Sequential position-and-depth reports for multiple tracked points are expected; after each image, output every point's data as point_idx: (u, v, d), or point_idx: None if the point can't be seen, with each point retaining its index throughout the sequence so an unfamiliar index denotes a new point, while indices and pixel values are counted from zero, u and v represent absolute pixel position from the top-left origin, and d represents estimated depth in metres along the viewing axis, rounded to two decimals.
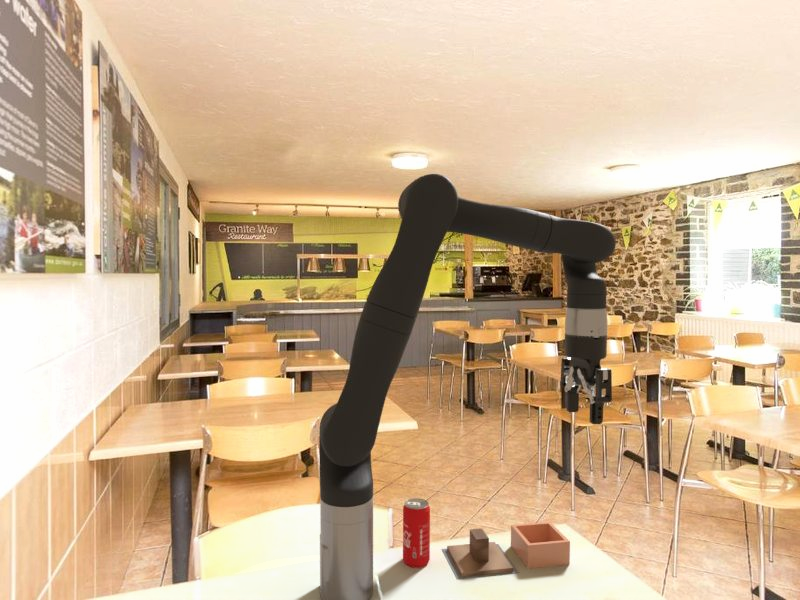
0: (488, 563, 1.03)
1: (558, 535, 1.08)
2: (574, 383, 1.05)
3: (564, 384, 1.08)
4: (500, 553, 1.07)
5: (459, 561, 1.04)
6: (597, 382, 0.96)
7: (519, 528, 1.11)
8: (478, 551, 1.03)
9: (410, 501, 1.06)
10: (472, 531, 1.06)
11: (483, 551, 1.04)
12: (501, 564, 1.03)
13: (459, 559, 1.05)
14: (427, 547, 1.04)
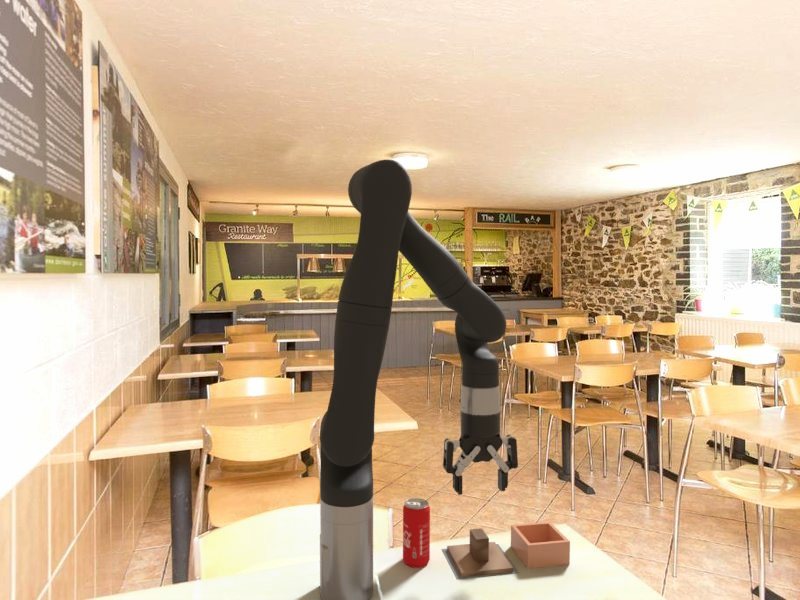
0: (488, 563, 1.03)
1: (558, 535, 1.08)
2: None
3: None
4: (500, 553, 1.07)
5: (459, 561, 1.04)
6: (515, 450, 1.05)
7: (519, 528, 1.11)
8: (478, 551, 1.03)
9: (410, 501, 1.06)
10: (472, 531, 1.06)
11: (483, 551, 1.04)
12: (501, 564, 1.03)
13: (459, 559, 1.05)
14: (427, 547, 1.04)
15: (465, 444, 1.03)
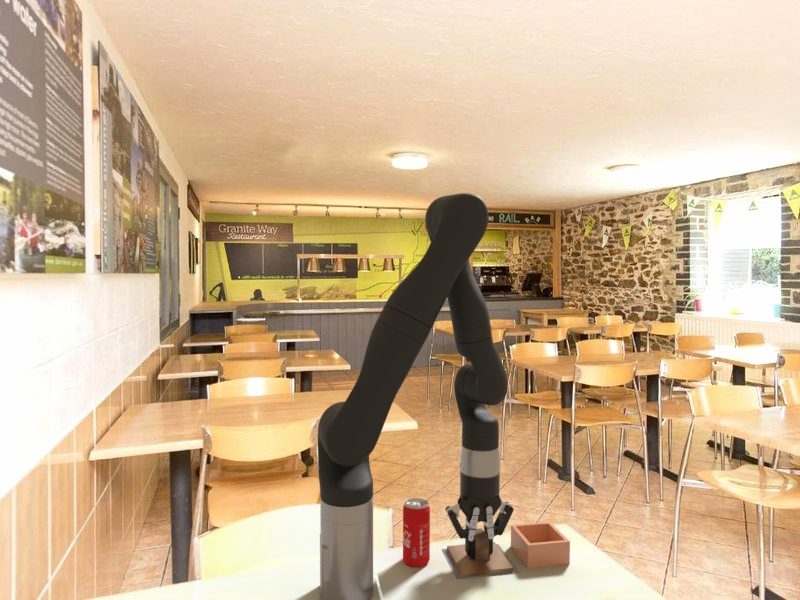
0: (488, 563, 1.03)
1: (558, 535, 1.08)
2: None
3: None
4: (500, 553, 1.07)
5: (459, 561, 1.04)
6: (507, 518, 1.05)
7: (519, 528, 1.11)
8: (478, 551, 1.03)
9: (410, 501, 1.06)
10: None
11: (483, 551, 1.04)
12: (501, 564, 1.03)
13: (459, 559, 1.05)
14: (427, 547, 1.04)
15: (464, 505, 1.03)
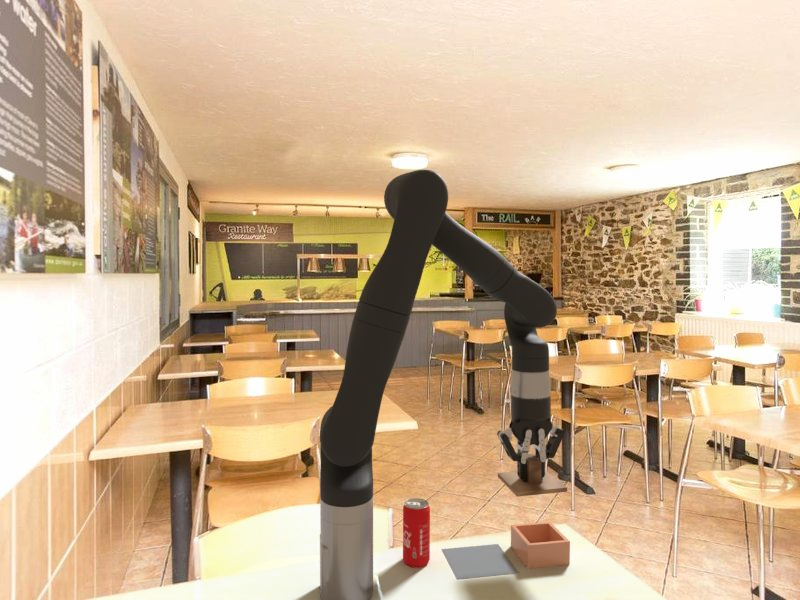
0: (541, 484, 1.04)
1: (558, 535, 1.08)
2: None
3: None
4: (551, 477, 1.08)
5: (512, 484, 1.05)
6: (559, 441, 1.06)
7: (519, 528, 1.11)
8: (531, 473, 1.05)
9: (410, 501, 1.06)
10: None
11: (536, 473, 1.05)
12: (554, 485, 1.04)
13: (512, 482, 1.06)
14: (427, 547, 1.04)
15: (516, 428, 1.05)
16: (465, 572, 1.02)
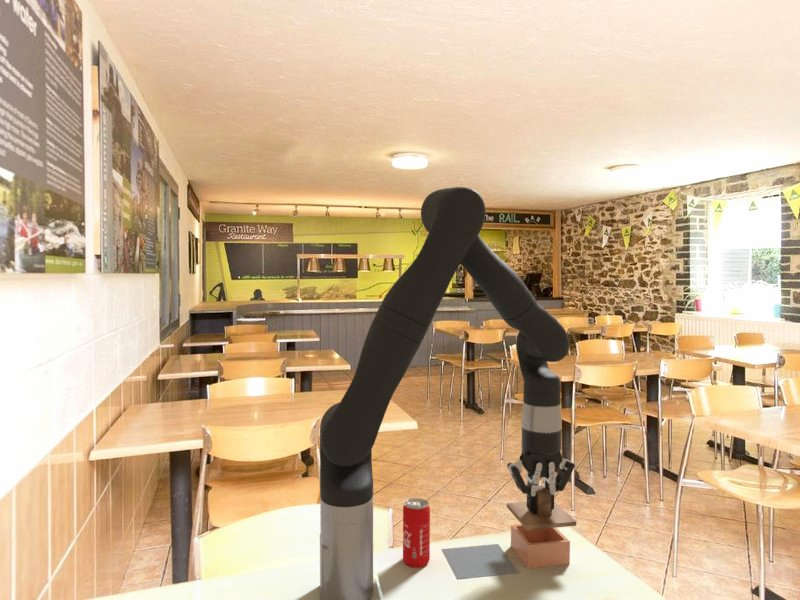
0: (551, 518, 1.05)
1: (558, 535, 1.08)
2: None
3: None
4: (560, 509, 1.09)
5: (522, 516, 1.06)
6: (568, 474, 1.07)
7: (519, 528, 1.11)
8: (541, 506, 1.05)
9: (410, 501, 1.06)
10: None
11: (545, 506, 1.05)
12: (564, 518, 1.05)
13: (521, 514, 1.06)
14: (427, 547, 1.04)
15: (527, 461, 1.05)
16: (465, 572, 1.02)
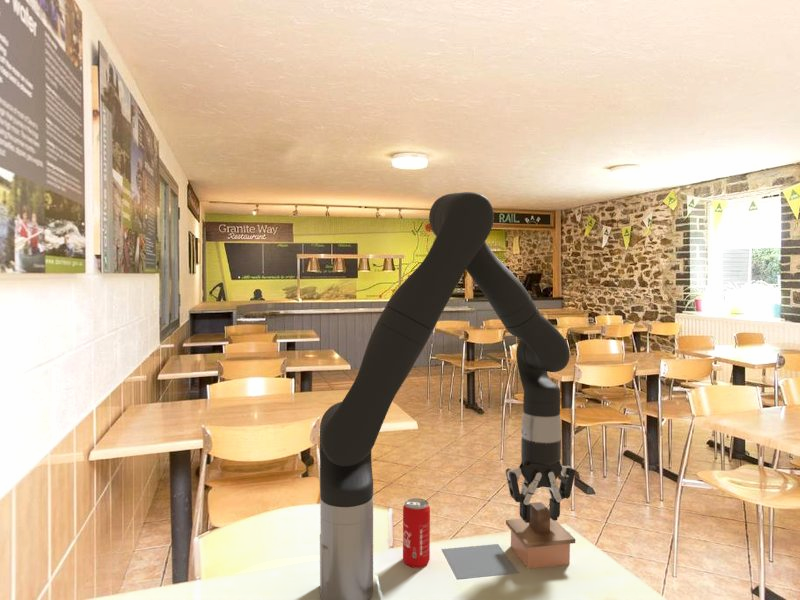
0: (550, 535, 1.05)
1: None
2: None
3: None
4: (559, 526, 1.09)
5: (521, 533, 1.06)
6: (571, 480, 1.07)
7: None
8: (540, 523, 1.05)
9: (410, 501, 1.06)
10: (532, 504, 1.08)
11: (544, 523, 1.06)
12: (563, 536, 1.05)
13: (520, 531, 1.07)
14: (427, 547, 1.04)
15: (526, 471, 1.05)
16: (465, 572, 1.02)
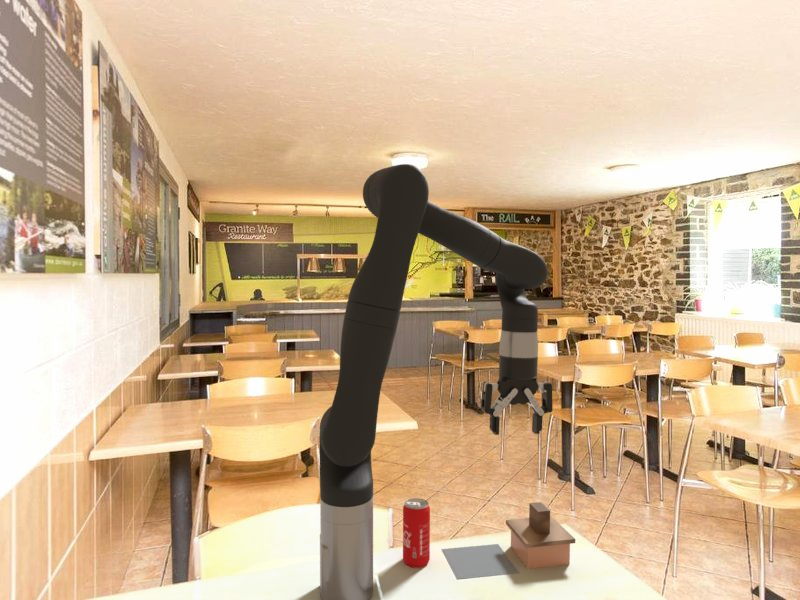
0: (550, 535, 1.05)
1: None
2: None
3: None
4: (559, 526, 1.09)
5: (521, 533, 1.06)
6: (550, 394, 1.09)
7: None
8: (540, 523, 1.05)
9: (410, 501, 1.06)
10: (532, 504, 1.08)
11: (544, 523, 1.06)
12: (563, 536, 1.05)
13: (520, 531, 1.07)
14: (427, 547, 1.04)
15: (503, 386, 1.08)
16: (465, 572, 1.02)
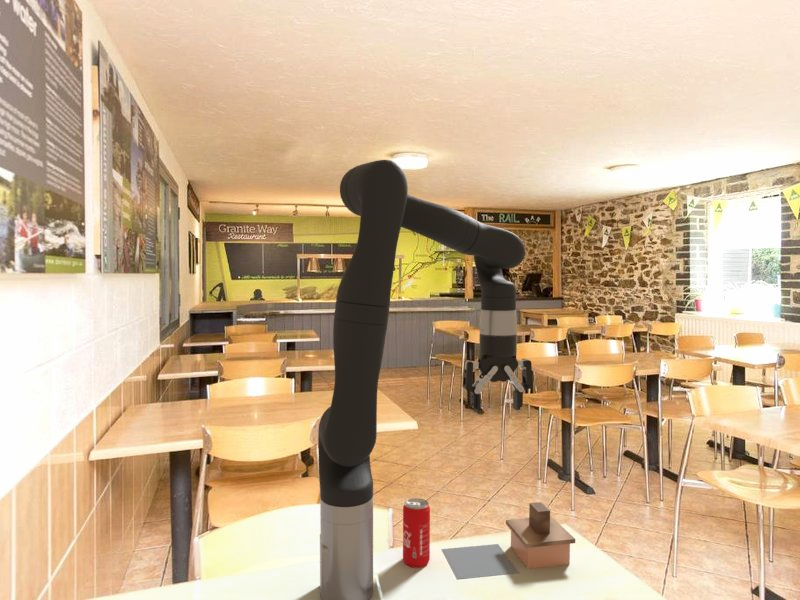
0: (550, 535, 1.05)
1: None
2: None
3: None
4: (559, 526, 1.09)
5: (521, 533, 1.06)
6: (529, 371, 1.12)
7: None
8: (540, 523, 1.05)
9: (410, 501, 1.06)
10: (532, 504, 1.08)
11: (544, 523, 1.06)
12: (563, 536, 1.05)
13: (520, 531, 1.07)
14: (427, 547, 1.04)
15: (484, 364, 1.10)
16: (465, 572, 1.02)
